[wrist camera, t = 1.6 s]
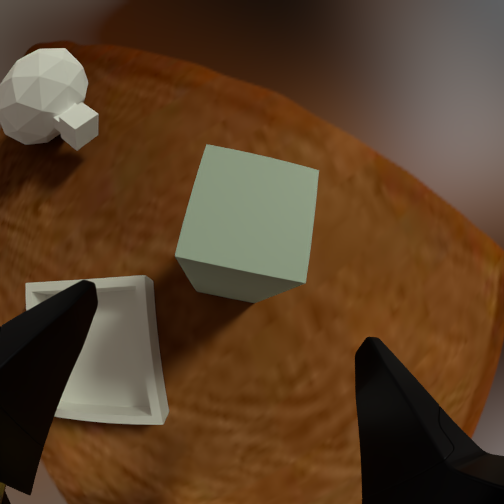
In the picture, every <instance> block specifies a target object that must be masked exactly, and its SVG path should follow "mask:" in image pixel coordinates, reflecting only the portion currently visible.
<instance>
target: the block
mask: <svg viewBox="0 0 504 504" xmlns="http://www.w3.org/2000/svg"><path fill="white" fill-rule="evenodd" d="M318 174H319V170H316V169H312V168H308V167H305V166H301V165H297V164H293V163H290V162H286V161H282V160H278V159H273V158H269V157H265V156H261V155H256V154H252V153H247V152H243V151H238V150H233V149H228V148H223V147H218V146H213V145H206V148H205V151H204V154H203V157H202V160H201V163H200V167H199V170H198V173H197V176H196V180H195V183H194V186H193V190H192V193H191V197H190V200H189V204H188V207H187V211H186V215H185V218H184V222H183V226H182V230H181V233H180V237H179V241H178V245H177V249H176V253H175V257H176V259H177V261H178V262H179V264H180V266H181V267H182V269H183V271H184V272H185V274H186V276H187V277H188V279H189V280H190V282H191V284H192V285H193V287H194V288H195V290H196V291H197V292H202V293H207V294H211V295H216V296H221V297H226V298H231V299H236V300H241V301H246V302H251V303H256V302H259V301H262V300H264V299H267V298H269V297H272V296H275V295H277V294H280V293H282V292H285V291H287V290H290V289H292V288H295V287H297V286H300V285H302V284H305V283H306V277H307V270H308V263H309V255H310V248H311V240H312V232H313V223H314V214H315V205H316V195H317V185H318Z"/></svg>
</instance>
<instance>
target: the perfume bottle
mask: <svg viewBox="0 0 504 504" xmlns="http://www.w3.org/2000/svg"><path fill="white" fill-rule="evenodd" d="M87 85H88V80H87V77H86V75H85V72H84V69H83V67H82V65H81V64H80V63H79V62H78V61H77V60H76V59H75V58H74V57H73V56H72V55H71V54H70V53H69V52H68V51H67V50H66V49H65V48H56V49H38V50H36V51H34V52H32V53H30V54H28V55H27V56H25V57H23V58H21V59H19V60H17V62H16V63H15V64H14V66H13V67H12V68H11V70H10V71H9V72H8V74H7V75H6V77H5V78H4V80H3V81H2V83H1V84H0V123H1V125H2V128H3V130H4V133H5V135H7V136H9V137H11V138H13V139H15V140H17V141H19V142H21V143H23V144H25V145H29V144H38V143H48V142H49V141H50V140H52V139H53V138H55V137H56V136H58V135H59V134H61V138H62V139H63V140H65V141H66V142H67V143H68V144H69V145H71V146H72V147H73V148H74V149H75V150H79V149H80V148H81V147H82V146H84V145H85V144H86V143H88V142H89V141H91V140H92V139H93V138H95V137H96V136H98V116H99V114H98V113H96V112H95V111H94V110H92V109H91V108H89V107H88V106H86V105H85V104H83V102H84V99H85V95H86V90H87Z"/></svg>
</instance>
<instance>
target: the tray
mask: <svg viewBox="0 0 504 504" xmlns="http://www.w3.org/2000/svg"><path fill="white" fill-rule="evenodd" d="M84 280H88V281H91V282H94V283H95V285H96V291H97V297H98V307H97V310H96V313H95V315H94V318H93V321H92V323H91V326H90V329H89V332H88V335H87V338H86V340H85V343H84V346H83V348H82V350H81V353H80V355H79V357H78V359H77V361H76V364H75V366H74V368H73V370H72V373H71V375H70V377H69V380H68V382H67V385H66V387H65V389H64V392H63V394H62V397H61V399H60V402H59V405H58V407H57V410H56V412H55V415H54V417H61V418H67V419H75V420H83V421H92V422H103V423H117V424H145V425H163V424H164V422H165V420H166V417H167V415H168V413H169V408H168V403H167V397H166V391H165V385H164V378H163V371H162V364H161V357H160V349H159V340H158V331H157V321H156V310H155V298H154V284H153V280H151V279H150V278H148V277H147V276H145V275H140V276H127V277H113V278H99V279H84ZM79 281H81V280H69V281H53V282H36V283H26V311H27V310H29V309H31V308H32V307H34V306H36V305H38V304H39V303H41V302H43V301H45V300H46V299H48V298H50V297H52V296H54V295H55V294H57V293H59V292H61V291H63V290H64V289H66V288H68V287H70V286H72V285H74V284H76V283H77V282H79Z"/></svg>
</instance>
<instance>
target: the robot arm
mask: <svg viewBox="0 0 504 504" xmlns="http://www.w3.org/2000/svg"><path fill="white" fill-rule="evenodd" d="M97 307H98V297H97V291H96V285H95V283H94V282H91V281H88V280H81V281H79V282H77V283H76V284H74V285H72V286H70V287H68V288H66V289H64V290H63V291H61V292H59V293H57V294H55V295H54V296H52V297H50V298H48V299H46V300H45V301H43V302H41V303H39V304H38V305H36V306H34V307H32V308H31V309H29V310H27V311H25V312H24V313H22V314H20V315H18V316H17V317H15V318H13V319H12V320H10V321H8V322H7V323H5V324H3V325H2V327H0V504H10V501H9V499H8V497H7V495H6V492H5V487H6V485H7V486H9V487H12V488H14V489H16V490H18V491H21V492H23V493H25V494H28V495H31V492H32V488H33V484H34V479H35V476H36V472H37V468H38V465H39V461H40V458H41V454H42V451H43V447H44V444H45V441H46V438H47V435H48V432H49V429H50V426H51V423H52V421H53V418H54V415H55V412H56V410H57V407H58V405H59V402H60V399H61V397H62V394H63V392H64V389H65V387H66V385H67V382H68V380H69V377H70V375H71V373H72V370H73V368H74V366H75V364H76V361H77V359H78V357H79V355H80V353H81V350H82V348H83V346H84V343H85V340H86V338H87V335H88V332H89V329H90V326H91V323H92V321H93V318H94V315H95V313H96V310H97ZM355 392H356V405H357V415H358V426H359V439H360V453H361V473H362V498H363V499H362V504H504V456H499V455H493V454H489V453H487V452H485V451H483V450H482V449H481V448H480V447H479V446H477V445H476V444H475V443H474V441H473V440H472V439H471V438H470V437H469V436H468V435H467V434H466V433H464V432H463V431H462V430H461V428H460V427H459V426H458V425H457V424H456V423H455V422H454V421H453V420H452V419H451V418H450V417H449V416H448V415H447V413H446V412H445V411H444V410H443V409H442V408H441V407H440V406H439V404H438V403H437V402H436V401H435V400H434V399H433V397H432V396H431V395H430V394H429V393H428V392H427V391H426V389H425V388H424V387H423V386H422V385H421V384H420V383H419V382H418V380H417V379H416V378H415V377H414V376H413V375H412V374H411V373H410V372H409V370H408V369H407V368H406V367H405V366H404V365H403V364H402V363H401V362H400V361H399V359H398V358H397V357H396V356H395V355H394V354H393V353H392V352H391V351H390V350H389V349H388V347H387V346H386V345H385V344H384V343H383V342H382V341H381V340H380V339H379V338H377V337H367V338H366V339H365V340H364V342H363V343H362V345H361V346H360V347H359V349H358V350H357V352H356V354H355Z"/></svg>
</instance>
